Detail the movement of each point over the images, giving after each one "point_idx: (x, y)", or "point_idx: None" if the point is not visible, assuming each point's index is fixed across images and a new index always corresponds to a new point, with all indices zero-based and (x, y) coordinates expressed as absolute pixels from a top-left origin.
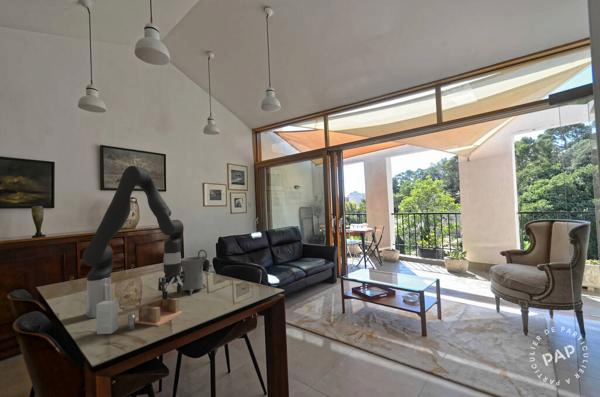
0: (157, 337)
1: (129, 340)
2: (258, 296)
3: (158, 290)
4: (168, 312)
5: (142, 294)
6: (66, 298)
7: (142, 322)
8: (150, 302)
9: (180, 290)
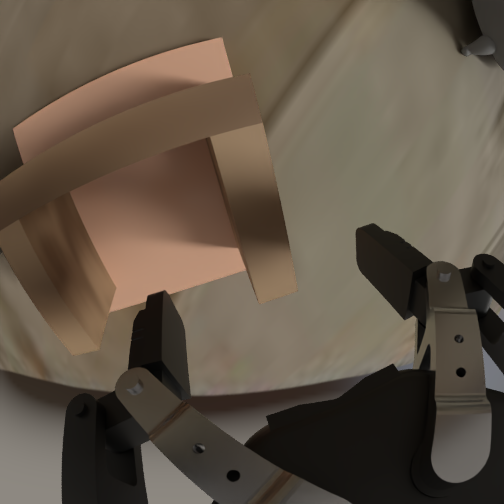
0: (81, 380)
1: (3, 327)
2: None
3: (72, 404)
4: (214, 196)
5: None
6: None
7: None
8: (68, 154)
9: (375, 285)
